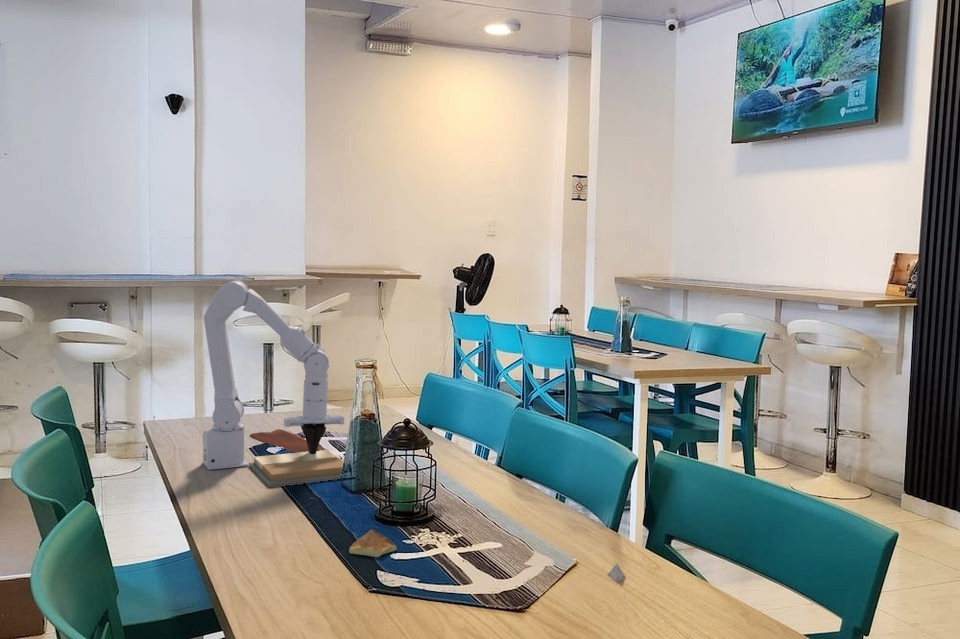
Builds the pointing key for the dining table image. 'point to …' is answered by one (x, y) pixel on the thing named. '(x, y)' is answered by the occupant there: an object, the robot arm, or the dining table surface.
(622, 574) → the tetrahedral die
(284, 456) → the ash plank
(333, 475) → the floor base
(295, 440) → the wooden tablet
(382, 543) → the shard
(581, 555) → the dining table surface
